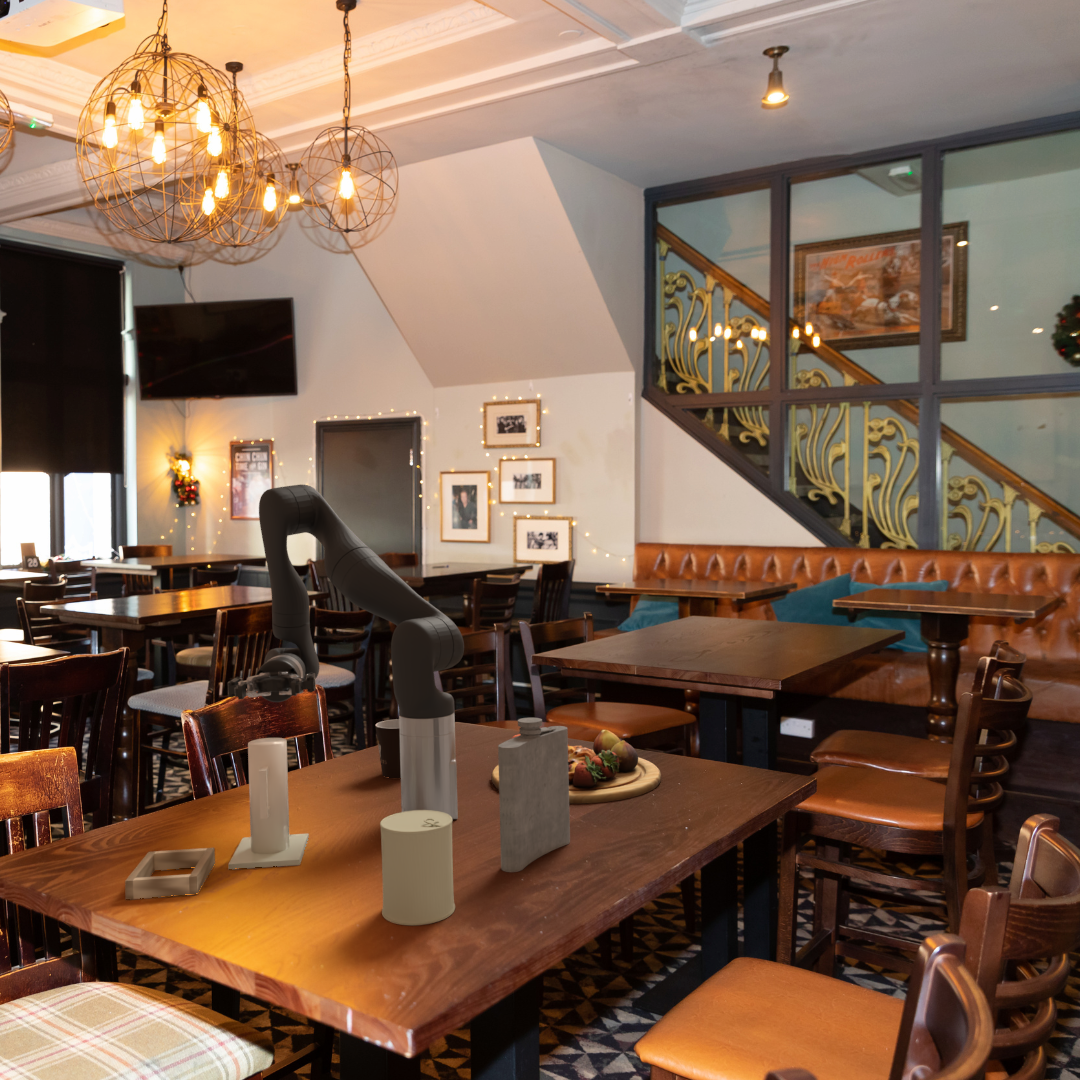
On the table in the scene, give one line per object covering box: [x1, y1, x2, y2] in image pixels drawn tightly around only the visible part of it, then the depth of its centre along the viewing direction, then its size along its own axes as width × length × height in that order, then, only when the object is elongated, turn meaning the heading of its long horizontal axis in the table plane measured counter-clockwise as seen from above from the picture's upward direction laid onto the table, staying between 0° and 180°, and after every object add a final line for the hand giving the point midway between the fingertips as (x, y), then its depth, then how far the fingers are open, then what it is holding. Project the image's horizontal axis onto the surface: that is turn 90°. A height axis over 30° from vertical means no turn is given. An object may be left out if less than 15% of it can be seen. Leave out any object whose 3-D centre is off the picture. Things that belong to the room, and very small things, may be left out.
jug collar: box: [124, 847, 216, 900], centre depth 136 cm, size 9×12×2 cm
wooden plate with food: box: [491, 729, 662, 805], centre depth 185 cm, size 32×32×8 cm
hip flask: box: [497, 717, 571, 873], centre depth 144 cm, size 16×4×20 cm, turn 147°
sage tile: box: [227, 833, 310, 870], centre depth 147 cm, size 10×12×1 cm
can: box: [379, 810, 456, 926], centre depth 124 cm, size 9×9×12 cm
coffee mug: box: [375, 718, 401, 779], centre depth 193 cm, size 12×9×10 cm
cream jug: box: [247, 737, 290, 854], centre depth 146 cm, size 6×8×16 cm
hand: (266, 691), depth 160 cm, fingers open, 8 cm apart
